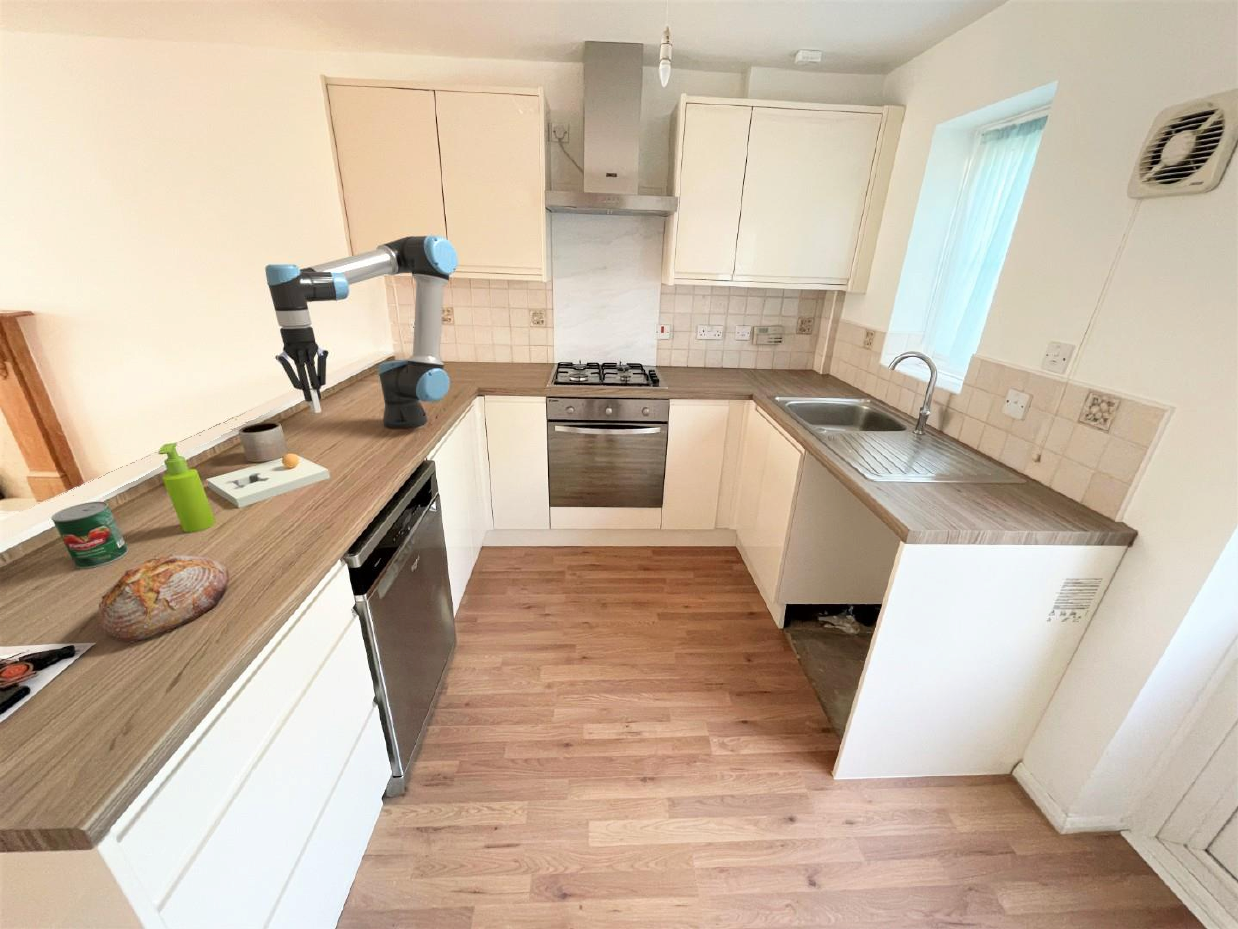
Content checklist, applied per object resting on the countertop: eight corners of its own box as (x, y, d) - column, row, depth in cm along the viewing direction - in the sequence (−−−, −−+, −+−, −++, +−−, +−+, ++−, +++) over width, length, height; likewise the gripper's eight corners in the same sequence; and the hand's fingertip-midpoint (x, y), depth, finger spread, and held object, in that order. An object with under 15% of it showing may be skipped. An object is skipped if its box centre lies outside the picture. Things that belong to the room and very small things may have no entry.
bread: (79, 660, 77) (45, 609, 73) (156, 584, 95) (131, 540, 91) (197, 637, 80) (170, 587, 76) (250, 568, 98) (231, 525, 94)
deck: (297, 461, 148) (294, 454, 147) (330, 477, 138) (328, 469, 137) (209, 487, 132) (206, 479, 131) (239, 508, 121) (236, 499, 120)
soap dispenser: (178, 536, 109) (144, 452, 101) (187, 523, 114) (155, 442, 106) (211, 530, 111) (180, 448, 103) (218, 517, 117) (189, 438, 109)
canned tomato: (82, 573, 96) (57, 524, 92) (70, 561, 100) (45, 513, 96) (134, 554, 102) (113, 507, 98) (121, 543, 106) (100, 498, 102)
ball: (296, 463, 141) (292, 450, 139) (303, 466, 139) (299, 453, 137) (281, 467, 138) (277, 454, 136) (287, 471, 136) (283, 457, 134)
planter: (239, 460, 150) (229, 430, 146) (273, 448, 159) (265, 420, 155) (263, 465, 146) (253, 435, 142) (297, 453, 155) (289, 424, 151)
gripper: (314, 323, 138) (333, 404, 147) (262, 327, 128) (285, 414, 137) (327, 325, 134) (346, 408, 143) (275, 330, 124) (298, 419, 133)
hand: (316, 411), depth 140 cm, fingers closed
